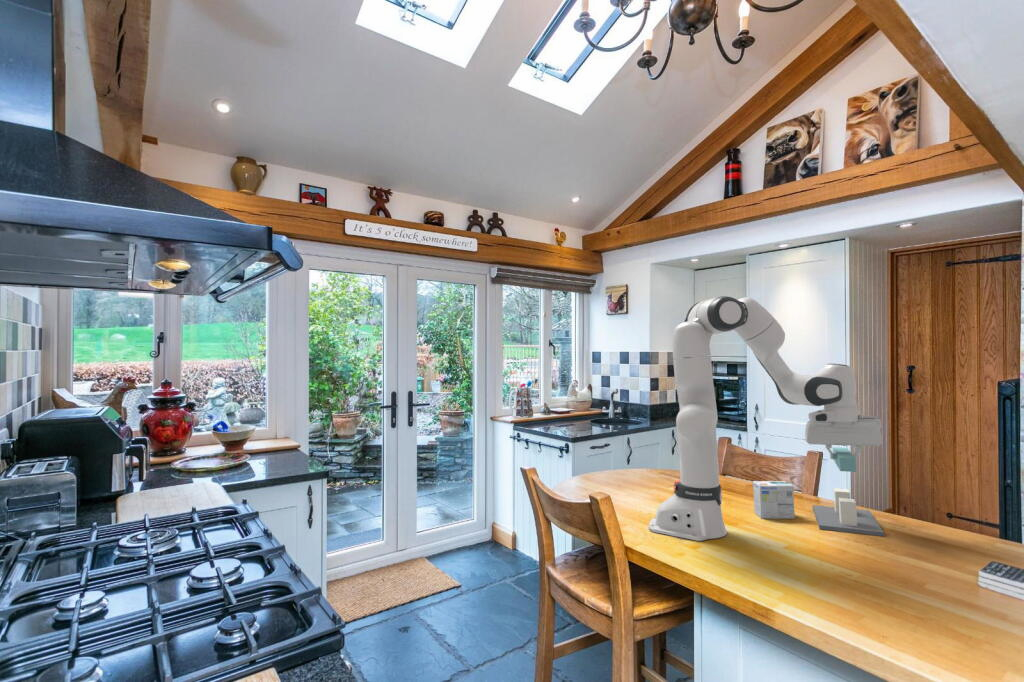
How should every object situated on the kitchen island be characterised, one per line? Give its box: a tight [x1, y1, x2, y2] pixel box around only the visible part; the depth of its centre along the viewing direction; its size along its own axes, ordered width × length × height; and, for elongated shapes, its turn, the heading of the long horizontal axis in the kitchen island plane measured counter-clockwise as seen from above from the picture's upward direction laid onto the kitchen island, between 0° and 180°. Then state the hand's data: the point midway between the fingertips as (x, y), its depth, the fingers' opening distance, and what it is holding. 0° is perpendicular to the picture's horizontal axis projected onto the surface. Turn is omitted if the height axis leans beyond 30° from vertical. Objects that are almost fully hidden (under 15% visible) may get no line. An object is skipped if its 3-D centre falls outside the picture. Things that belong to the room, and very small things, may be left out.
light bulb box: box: [752, 480, 796, 520], centre depth 165 cm, size 11×7×11 cm, turn 84°
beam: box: [832, 446, 857, 473], centre depth 157 cm, size 18×4×4 cm, turn 153°
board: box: [812, 487, 885, 537], centre depth 158 cm, size 16×22×8 cm
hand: (843, 459), depth 157 cm, fingers closed on beam, 4 cm apart
